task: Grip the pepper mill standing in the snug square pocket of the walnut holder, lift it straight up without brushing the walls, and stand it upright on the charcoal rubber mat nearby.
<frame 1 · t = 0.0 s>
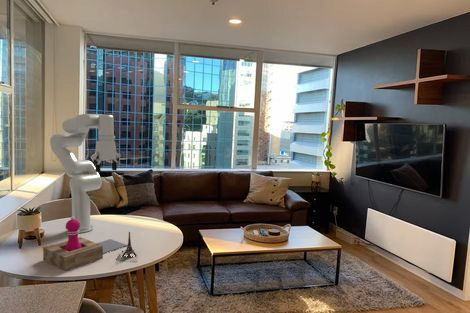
hand: (106, 171, 185), 37 cm above the table, tool pointing down, fingers open, 9 cm apart
walnut pocket holder: (73, 259, 160), on the table
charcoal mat: (107, 246, 177), on the table
pepper mill: (73, 259, 160), resting in walnut pocket holder
eiffel tower figurine: (128, 257, 166), on the table
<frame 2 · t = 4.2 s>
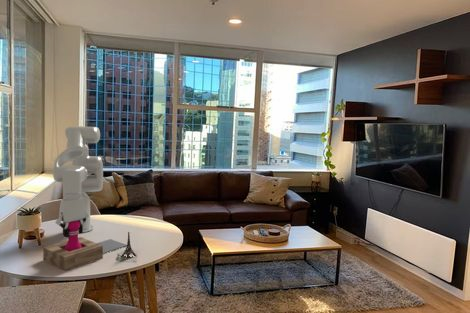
hand: (73, 234, 159), 12 cm above the table, tool pointing down, fingers closed on pepper mill, 5 cm apart
pepper mill: (73, 259, 160), resting in walnut pocket holder, touching gripper
everything else where it was.
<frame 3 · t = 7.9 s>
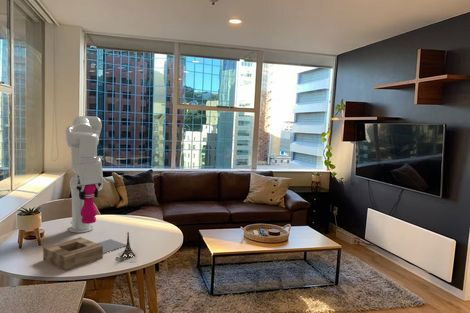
hand: (88, 197, 165), 27 cm above the table, tool pointing down, fingers closed on pepper mill, 5 cm apart
pepper mill: (88, 222, 167), point 15 cm above the table, touching gripper
everything else where it was.
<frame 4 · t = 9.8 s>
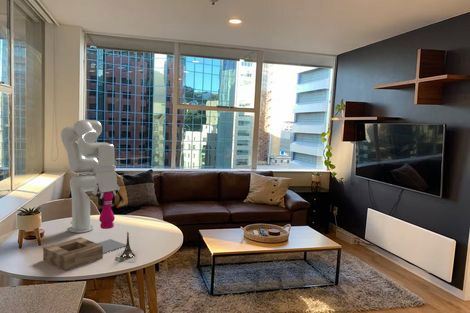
hand: (106, 204, 175), 22 cm above the table, tool pointing down, fingers closed on pepper mill, 5 cm apart
pepper mill: (107, 227, 176), point 10 cm above the table, touching gripper
everything else where it was.
when the fingers open (13 cm above the table, at t = 11.7 s): pepper mill drops 1 cm, resting on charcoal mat.
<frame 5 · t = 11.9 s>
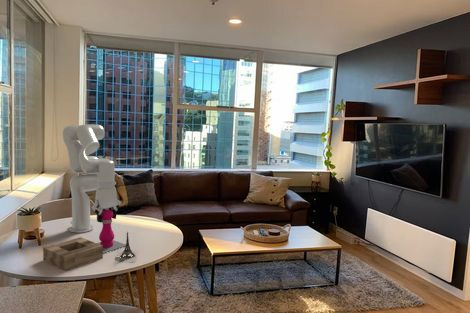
hand: (106, 219, 176), 14 cm above the table, tool pointing down, fingers open, 7 cm apart
pepper mill: (106, 245, 177), resting on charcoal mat
everything else where it was.
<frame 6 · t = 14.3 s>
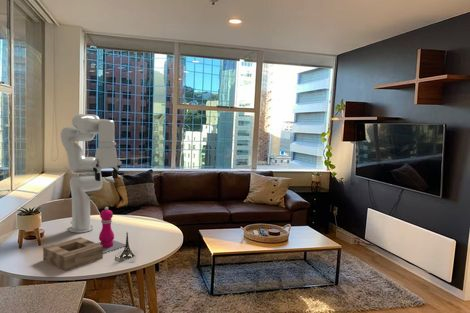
hand: (106, 179, 174), 34 cm above the table, tool pointing down, fingers open, 9 cm apart
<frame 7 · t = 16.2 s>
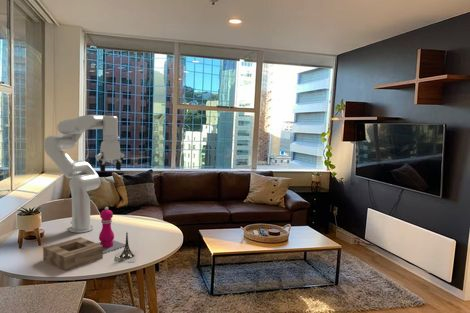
hand: (110, 170, 189), 36 cm above the table, tool pointing down, fingers open, 9 cm apart
at the end: pepper mill inside the target area on the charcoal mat (0.1 cm from its centre), point 0.3 cm above the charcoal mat's base; pepper mill tilted 0°; the gripper is holding nothing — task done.
